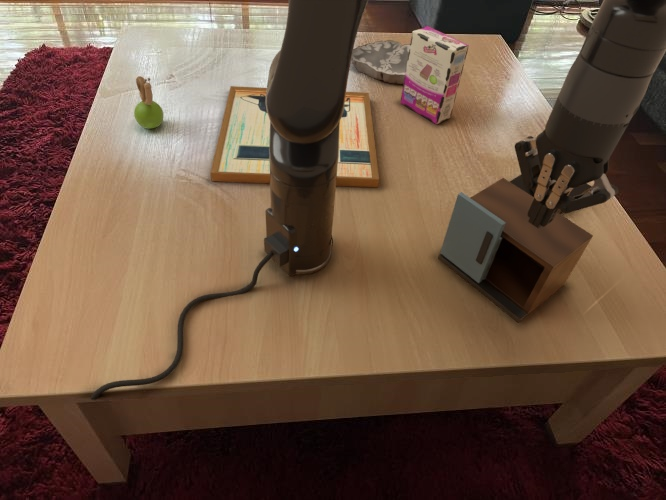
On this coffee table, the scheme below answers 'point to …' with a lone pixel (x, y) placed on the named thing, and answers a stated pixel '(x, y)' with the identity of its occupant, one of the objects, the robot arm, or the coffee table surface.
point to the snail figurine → (147, 106)
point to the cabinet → (525, 252)
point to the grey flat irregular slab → (382, 60)
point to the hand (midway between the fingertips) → (537, 222)
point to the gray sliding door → (471, 237)
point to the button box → (519, 183)
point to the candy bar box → (433, 73)
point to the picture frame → (254, 136)
